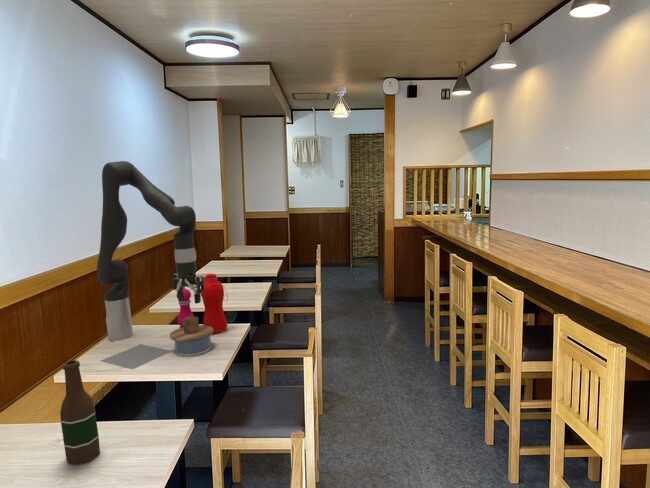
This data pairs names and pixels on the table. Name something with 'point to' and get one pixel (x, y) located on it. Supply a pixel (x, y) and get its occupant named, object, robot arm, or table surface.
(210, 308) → the water bottle
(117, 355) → the mat
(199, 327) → the lid
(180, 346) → the bowl
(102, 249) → the robot arm
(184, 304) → the pepper mill
